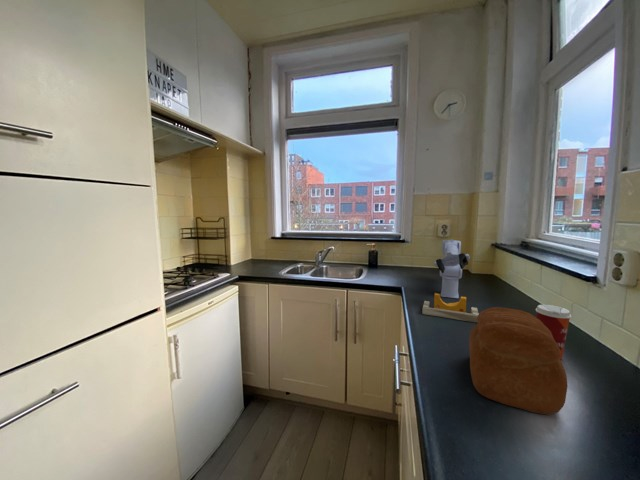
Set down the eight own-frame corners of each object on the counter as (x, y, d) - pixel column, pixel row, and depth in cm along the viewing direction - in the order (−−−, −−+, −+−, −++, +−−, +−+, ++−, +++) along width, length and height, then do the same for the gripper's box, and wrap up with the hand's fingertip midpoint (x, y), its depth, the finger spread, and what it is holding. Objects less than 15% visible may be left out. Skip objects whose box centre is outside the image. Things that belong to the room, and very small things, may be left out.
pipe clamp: (465, 310, 110) (465, 295, 109) (465, 314, 106) (466, 298, 105) (434, 306, 115) (435, 292, 115) (433, 309, 111) (434, 294, 111)
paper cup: (570, 365, 70) (575, 315, 68) (534, 357, 74) (538, 310, 72) (562, 352, 76) (567, 306, 75) (529, 345, 80) (533, 302, 79)
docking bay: (424, 306, 115) (424, 300, 114) (476, 313, 106) (476, 307, 106) (422, 313, 106) (422, 308, 106) (479, 322, 97) (479, 316, 97)
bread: (543, 369, 68) (549, 308, 66) (571, 428, 50) (580, 344, 48) (467, 352, 77) (471, 297, 75) (467, 396, 58) (471, 324, 57)
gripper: (432, 252, 124) (430, 264, 113) (465, 243, 116) (466, 256, 105) (438, 264, 125) (436, 278, 114) (470, 257, 118) (472, 271, 106)
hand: (451, 269), depth 110 cm, fingers open, 7 cm apart
